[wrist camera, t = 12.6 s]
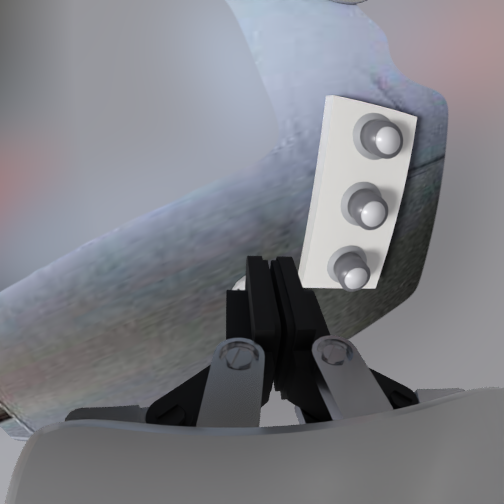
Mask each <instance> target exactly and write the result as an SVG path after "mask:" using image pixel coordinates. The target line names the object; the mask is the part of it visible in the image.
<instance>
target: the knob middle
mask: <svg viewBox="0 0 504 504" xmlns="http://www.w3.org/2000/svg"><path fill="white" fill-rule="evenodd" d="M347 208H348V212H349V214H350V216H351V217H352V218H353V219H354V220H355V221H356V222H357V223H358V224H359V226H360V227H362V228H363V229H365V230H375V229H377V228H379V227H380V226H382V225H383V224H384V222H385V221H386V219H387V216H388V205H387V203H386V202H385V200H384V199H382V198H381V197H380V196H378V195H377V194H376V193H374V192H373V191H371V190H369V189H360V190H357V191H356V192H354V193H353V194H352V195H351V197H350V199H349V201H348V206H347Z"/></svg>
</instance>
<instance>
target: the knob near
mask: <svg viewBox="0 0 504 504" xmlns="http://www.w3.org/2000/svg"><path fill="white" fill-rule="evenodd" d="M360 141H361V144H362V146H363V147H364V149H365V150H366V151H368V152H369V153H372V154H374V155H376V156H379V157H381V158H384V159H390V158H393V157H395V156H396V155H398V153H399V152H400V151H401V149H402V146H403V135H402V132H401V130H400V129H399V127H398V126H397V125H396V124H394V123H392V122H388V121H383V120H377V119H373V120H370V121H368V122H366V123H365V124H364V125H363V127H362V129H361V132H360Z"/></svg>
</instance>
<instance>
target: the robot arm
mask: <svg viewBox="0 0 504 504" xmlns="http://www.w3.org/2000/svg"><path fill="white" fill-rule="evenodd" d="M331 1H334V2H338V3H345V4H356V3H361V2H364V1H367V0H331ZM273 381H274V388H275V391H280V392H281V399H287V400H288V401H290V402H291V403H293V404H295V412H296V415H297V418H298V420H299V423H300V425H289V426H273V427H259V421H260V410H261V407H262V406H263V405H264V404H266V403H267V402H268V400H269V395H270V391H271V389H272V384H273ZM5 504H504V388H499V387H488V388H487V387H486V388H478V389H472V390H467V391H465V390H463V389H459V388H454V389H453V388H452V389H417V390H416V391H415V392H413V391H412V390H411V389H409V388H407V387H406V386H404V385H402V384H400V383H398V382H396V381H394V380H392V379H390V378H388V377H386V376H384V375H382V374H380V373H378V372H376V371H374V370H372V369H370V368H368V366H367V365H366V363H365V361H364V360H363V358H362V357H361V355H360V353H359V352H358V350H357V349H356V347H355V346H354V345H353V344H352V343H351V342H350V341H349V340H347V339H345V338H343V337H340V336H335V335H330V333H329V330H328V328H327V325H326V322H325V320H324V317H323V314H322V312H321V309H320V306H319V304H318V301H317V299H316V296H315V293H314V292H313V291H312V290H303V287H302V284H301V281H300V278H299V275H298V272H297V269H296V267H295V264H294V261H293V258H292V257H278V256H277V258H276V260H272V261H271V266H270V270H269V265H268V260H263V259H262V256H247V262H246V280H245V290H227V297H226V340H225V341H223V342H221V343H220V344H219V345H218V346H217V347H216V349H215V351H214V354H213V358H212V362H211V365H209V366H208V367H206V368H205V369H203V370H202V371H201V372H199V373H198V374H196V375H195V376H193V377H192V378H190V379H189V380H187V381H186V382H184V383H183V384H181V385H180V386H178V387H177V388H175V389H174V390H172V391H171V392H169V393H168V394H166V395H164V396H163V397H161V398H160V399H158V400H157V401H155V402H154V403H153V404H152V405H151V406H150V407H143V408H140V407H139V405H129V406H113V407H86V408H78V409H75V410H73V411H71V412H70V413H69V414H68V415H67V417H66V418H65V421H64V422H59V423H54V424H51V425H48V426H45V427H42V428H41V429H39V430H37V431H36V432H35V433H34V434H33V435H32V436H31V437H30V438H29V439H28V441H27V442H26V444H25V446H24V447H23V449H22V452H21V454H20V456H19V458H18V461H17V463H16V466H15V469H14V471H13V474H12V478H11V481H10V485H9V488H8V492H7V496H6V500H5Z"/></svg>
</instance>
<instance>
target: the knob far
mask: <svg viewBox="0 0 504 504" xmlns="http://www.w3.org/2000/svg"><path fill="white" fill-rule="evenodd" d="M333 270H334V274H335V275H336V277H337V279H338V281H339V283H340V285H341V286H342V288H343V289H345V290H346V291H357V290H360V289H361V288H363V287H364V286H365V285H366V284H367V283H368V281H369V279H370V275H371V272H370V269H369V267H368V266H367V265H366V263H365V262H364V261H363V259H362V258H361V257H360V255H358V254H357V253H354V252H348V253H345V254H343V255H341V256H340V257H339V258H338V259H337V260H336V262H335V264H334V267H333Z"/></svg>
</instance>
